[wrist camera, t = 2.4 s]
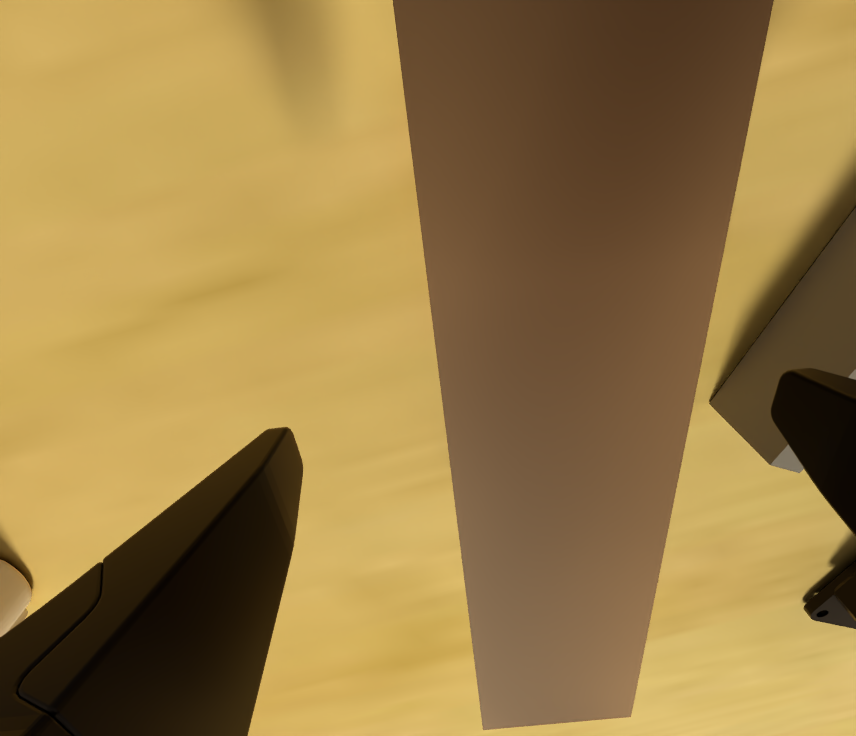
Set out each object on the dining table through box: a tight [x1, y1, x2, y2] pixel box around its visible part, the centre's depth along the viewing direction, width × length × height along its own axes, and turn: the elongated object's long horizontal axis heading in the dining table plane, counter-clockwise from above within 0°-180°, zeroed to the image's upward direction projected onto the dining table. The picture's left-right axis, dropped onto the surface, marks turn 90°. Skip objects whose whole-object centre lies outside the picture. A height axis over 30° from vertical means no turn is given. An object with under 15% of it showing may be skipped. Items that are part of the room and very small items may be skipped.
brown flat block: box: [393, 0, 774, 730], centre depth 10 cm, size 3×12×8 cm, turn 7°
